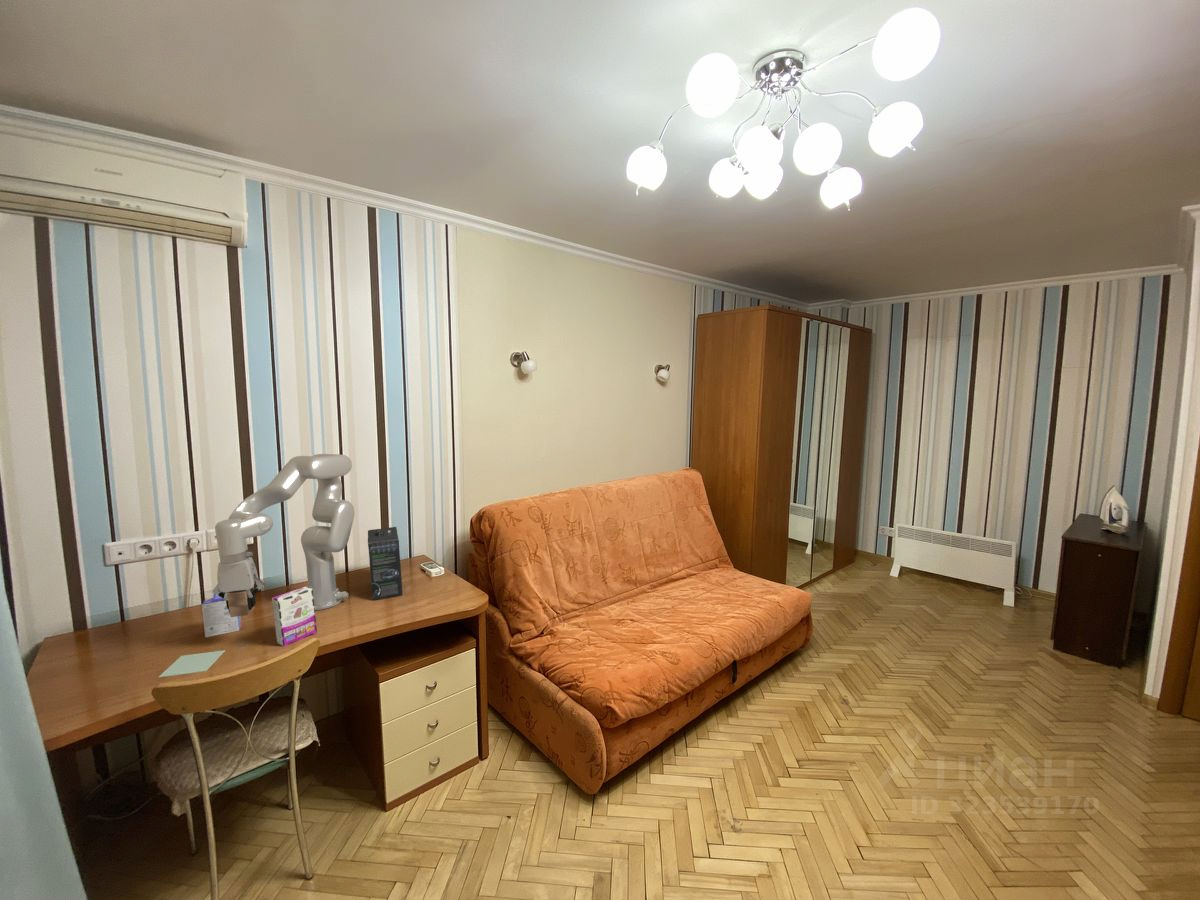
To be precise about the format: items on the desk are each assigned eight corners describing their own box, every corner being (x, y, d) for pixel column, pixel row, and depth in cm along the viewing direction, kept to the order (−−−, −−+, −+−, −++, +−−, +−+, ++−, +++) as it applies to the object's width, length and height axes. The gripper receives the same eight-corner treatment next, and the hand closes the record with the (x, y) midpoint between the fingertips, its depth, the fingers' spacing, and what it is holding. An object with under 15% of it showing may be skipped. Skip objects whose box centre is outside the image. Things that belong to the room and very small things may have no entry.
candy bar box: (310, 629, 173) (306, 585, 171) (317, 633, 170) (313, 588, 168) (275, 643, 163) (271, 597, 161) (283, 647, 161) (278, 600, 158)
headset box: (371, 581, 216) (367, 525, 212) (400, 577, 221) (397, 521, 217) (371, 601, 195) (366, 539, 192) (403, 595, 200) (399, 535, 197)
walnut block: (254, 608, 165) (251, 585, 164) (247, 615, 160) (244, 592, 159) (237, 610, 164) (233, 587, 162) (230, 617, 159) (226, 594, 158)
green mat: (225, 651, 159) (225, 650, 159) (206, 671, 147) (205, 670, 147) (181, 656, 156) (181, 655, 155) (158, 678, 144) (158, 677, 144)
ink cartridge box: (242, 624, 177) (238, 586, 175) (240, 630, 172) (235, 591, 170) (207, 631, 172) (203, 592, 170) (204, 638, 167) (200, 598, 166)
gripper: (268, 550, 165) (275, 600, 167) (209, 555, 160) (217, 607, 163) (259, 558, 157) (266, 610, 160) (197, 564, 153) (206, 618, 156)
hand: (241, 608), depth 162 cm, fingers closed on walnut block, 5 cm apart
